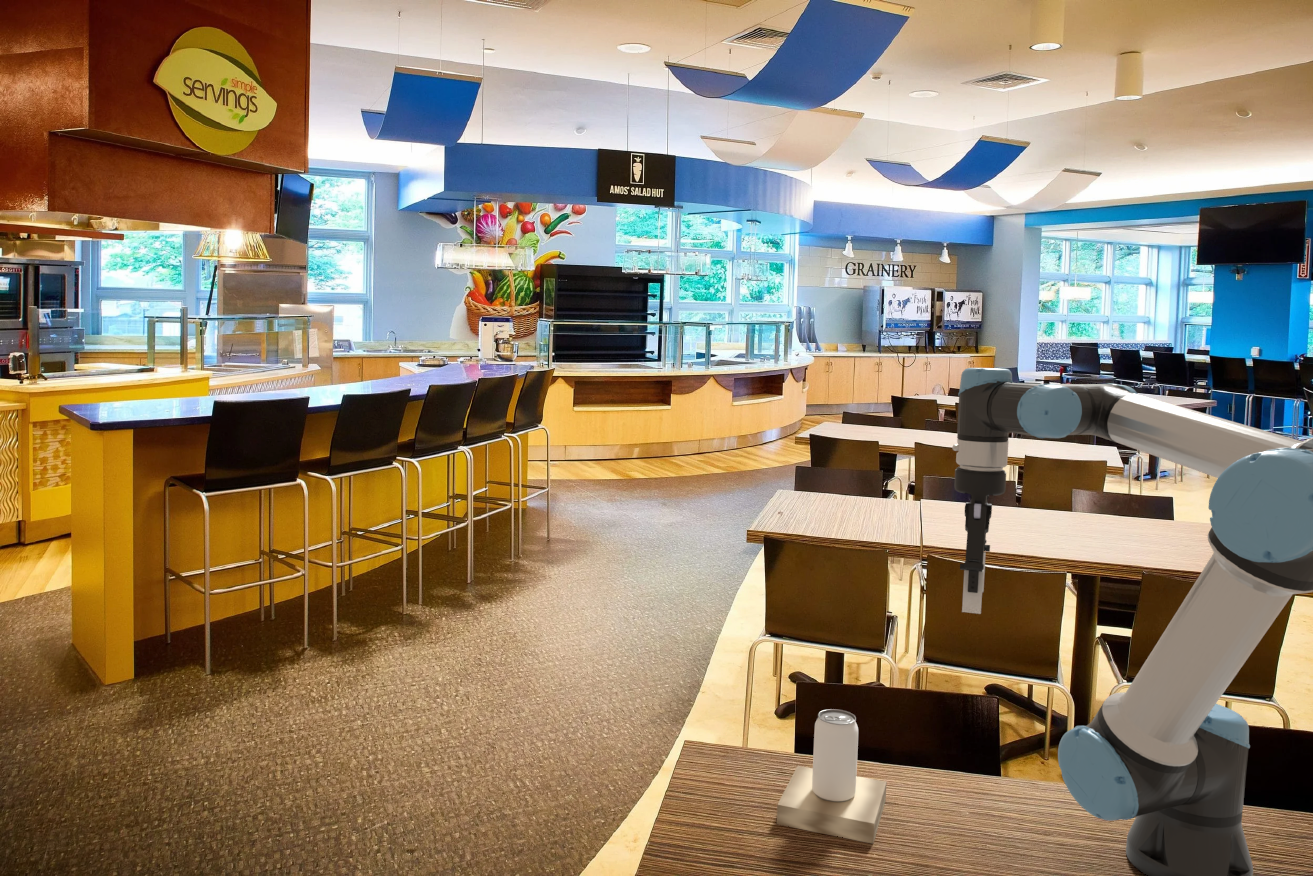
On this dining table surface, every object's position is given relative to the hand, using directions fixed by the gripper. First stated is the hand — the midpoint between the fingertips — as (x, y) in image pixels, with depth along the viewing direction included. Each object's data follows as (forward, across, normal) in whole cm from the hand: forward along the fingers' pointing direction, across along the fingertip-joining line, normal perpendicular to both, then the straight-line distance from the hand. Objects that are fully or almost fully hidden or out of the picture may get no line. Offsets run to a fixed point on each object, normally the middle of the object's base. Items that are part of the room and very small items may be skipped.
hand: (973, 601), depth 148 cm
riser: (+31, +16, -18) cm, 39 cm away
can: (+28, +16, -18) cm, 37 cm away
